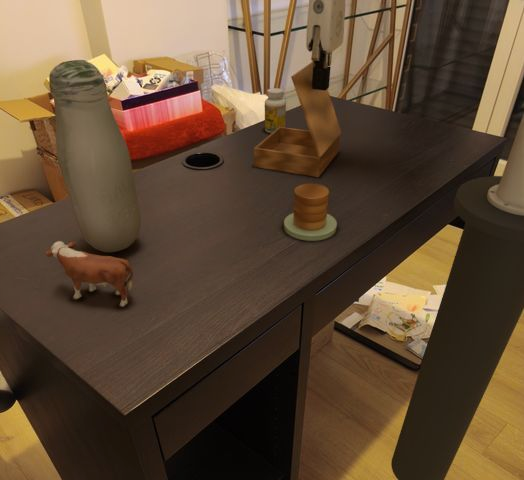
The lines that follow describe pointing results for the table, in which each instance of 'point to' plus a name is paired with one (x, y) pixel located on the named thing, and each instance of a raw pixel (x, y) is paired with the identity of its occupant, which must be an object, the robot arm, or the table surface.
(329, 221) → the plate
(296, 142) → the wooden box
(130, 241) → the grey green bottle
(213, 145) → the table surface
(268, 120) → the supplement bottle
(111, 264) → the bull figurine
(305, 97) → the lid
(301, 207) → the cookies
